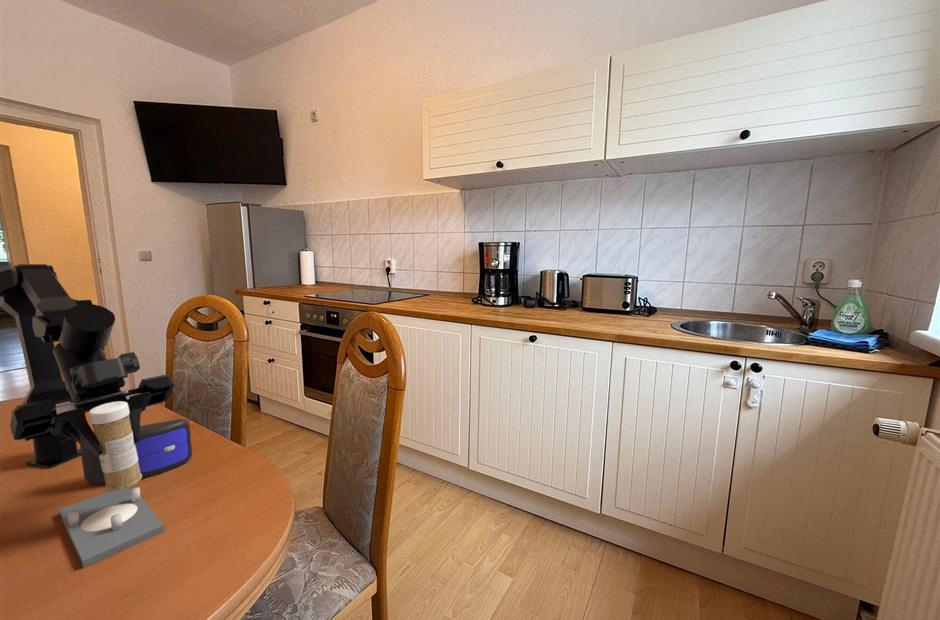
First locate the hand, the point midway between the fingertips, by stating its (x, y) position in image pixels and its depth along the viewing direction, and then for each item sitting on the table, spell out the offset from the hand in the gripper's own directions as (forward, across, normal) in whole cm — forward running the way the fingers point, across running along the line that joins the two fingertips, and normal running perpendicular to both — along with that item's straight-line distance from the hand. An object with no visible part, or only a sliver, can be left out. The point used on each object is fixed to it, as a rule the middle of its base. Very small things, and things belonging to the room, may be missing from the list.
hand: (119, 448), depth 60 cm
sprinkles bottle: (+4, +1, +6) cm, 7 cm away
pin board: (+8, -2, +10) cm, 12 cm away
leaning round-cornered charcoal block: (-2, +7, +20) cm, 21 cm away
